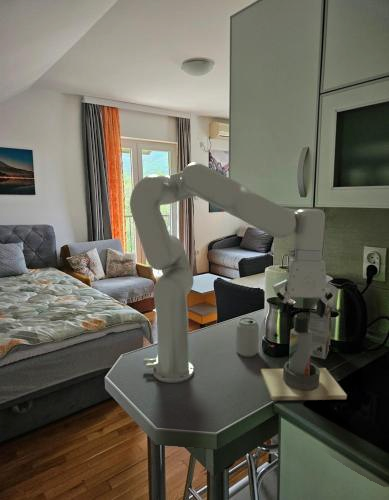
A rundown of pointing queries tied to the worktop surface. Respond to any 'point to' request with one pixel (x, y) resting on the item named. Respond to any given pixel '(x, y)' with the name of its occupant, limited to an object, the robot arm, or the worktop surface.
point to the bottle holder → (301, 384)
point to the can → (247, 337)
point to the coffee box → (320, 331)
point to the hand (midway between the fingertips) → (302, 315)
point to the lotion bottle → (300, 346)
